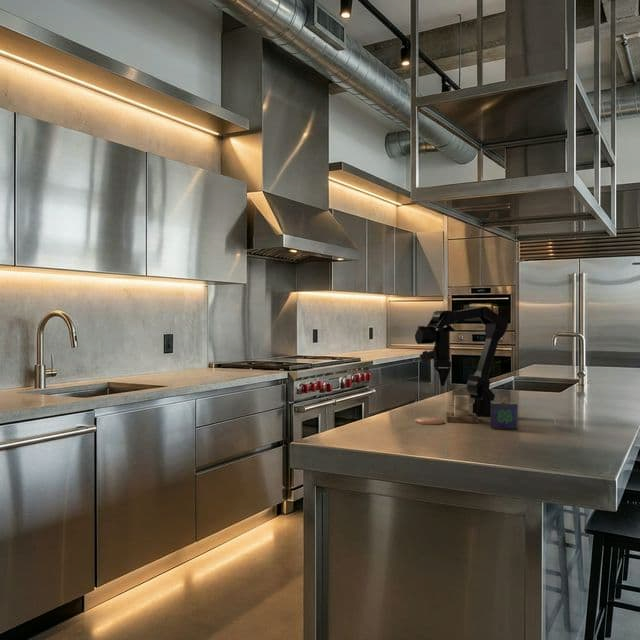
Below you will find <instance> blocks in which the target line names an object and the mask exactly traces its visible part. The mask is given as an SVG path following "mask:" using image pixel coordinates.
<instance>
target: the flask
mask: <svg viewBox="0 0 640 640" xmlns="http://www.w3.org/2000/svg"><path fill="white" fill-rule="evenodd" d="M507 400H508V399H507V398H505V397H503V398H502V400H501V401H499V400H498V401H493V402H491V416H490V418H489V419H490V426H489V427H490V429H491V430H501V431H502V430H503V431H505V430H507V431H508V430H509V431H510V430H511V431H515V430H516V431H517V430H518V427H519V426H518V423H519V422H518V421H519V418H518V415H519V411H518V407H519V404H518V403H517V402H508V401H507Z"/></svg>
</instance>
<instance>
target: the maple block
mask: <svg viewBox="0 0 640 640" xmlns="http://www.w3.org/2000/svg"><path fill="white" fill-rule="evenodd" d="M453 407H454V408H453V409H454V411H453V413H454V416H469V413H470V395H460V394H459V395H458V394H457V395H454V403H453Z"/></svg>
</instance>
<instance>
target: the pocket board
mask: <svg viewBox="0 0 640 640" xmlns="http://www.w3.org/2000/svg"><path fill="white" fill-rule="evenodd" d="M445 420H446V423H462V424H479V416H477V415H476V414H475V413H472V412H469V416H454V411H453V412H451V411H450V412H449V411H448V412H447V411H446V412H445Z"/></svg>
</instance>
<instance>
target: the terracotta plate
mask: <svg viewBox="0 0 640 640" xmlns="http://www.w3.org/2000/svg"><path fill="white" fill-rule="evenodd" d="M414 421H415V423H416V424H419V425H429V426H431V425H432V426H433V425H434V426H437V425H442V424H444V419H442V418H438V417H426V416H423V417H416V418H415V420H414Z"/></svg>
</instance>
